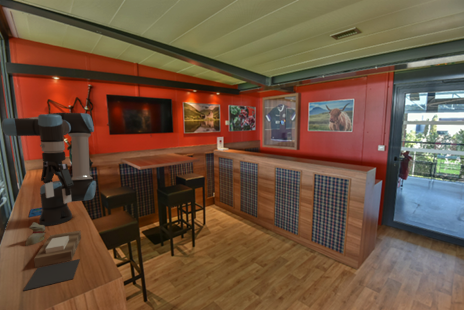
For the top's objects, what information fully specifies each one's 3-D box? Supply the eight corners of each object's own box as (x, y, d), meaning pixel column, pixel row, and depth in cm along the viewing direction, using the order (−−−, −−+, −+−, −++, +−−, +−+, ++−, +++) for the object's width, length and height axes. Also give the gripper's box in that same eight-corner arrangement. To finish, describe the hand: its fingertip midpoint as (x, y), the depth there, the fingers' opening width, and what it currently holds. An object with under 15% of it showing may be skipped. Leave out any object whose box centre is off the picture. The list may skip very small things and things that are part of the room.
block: (52, 242, 96) (52, 238, 96) (69, 239, 99) (68, 235, 99) (45, 253, 88) (45, 248, 88) (63, 249, 91) (63, 245, 91)
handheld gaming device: (28, 216, 131) (30, 208, 142) (28, 217, 131) (30, 210, 142) (46, 212, 136) (47, 206, 148) (46, 214, 136) (47, 207, 148)
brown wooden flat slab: (51, 243, 103) (50, 235, 102) (81, 237, 108) (80, 230, 108) (35, 267, 85) (34, 258, 85) (71, 260, 90) (71, 251, 90)
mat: (37, 268, 85) (37, 267, 85) (79, 259, 91) (79, 258, 91) (23, 291, 73) (23, 290, 73) (73, 279, 79) (72, 278, 79)
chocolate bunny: (47, 240, 106) (45, 221, 104) (26, 246, 100) (23, 226, 98) (45, 236, 109) (43, 217, 108) (24, 242, 103) (21, 223, 102)
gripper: (27, 150, 92) (33, 197, 95) (60, 155, 81) (65, 208, 84) (48, 148, 98) (53, 192, 102) (81, 152, 88) (85, 202, 91)
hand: (58, 199), depth 93 cm, fingers open, 13 cm apart
